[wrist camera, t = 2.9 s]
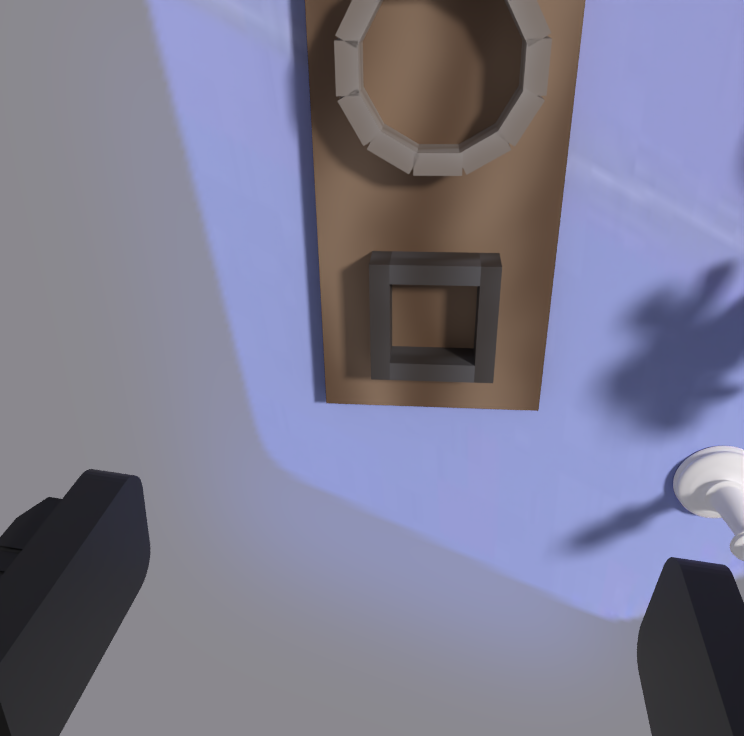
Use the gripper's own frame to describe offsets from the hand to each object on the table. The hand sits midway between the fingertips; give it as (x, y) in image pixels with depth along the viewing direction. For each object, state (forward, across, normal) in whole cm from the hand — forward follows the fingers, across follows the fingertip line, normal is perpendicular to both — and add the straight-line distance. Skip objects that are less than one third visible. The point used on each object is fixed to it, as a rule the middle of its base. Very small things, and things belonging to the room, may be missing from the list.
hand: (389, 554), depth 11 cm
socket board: (+27, +1, +2) cm, 27 cm away
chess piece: (+28, -18, +18) cm, 37 cm away
